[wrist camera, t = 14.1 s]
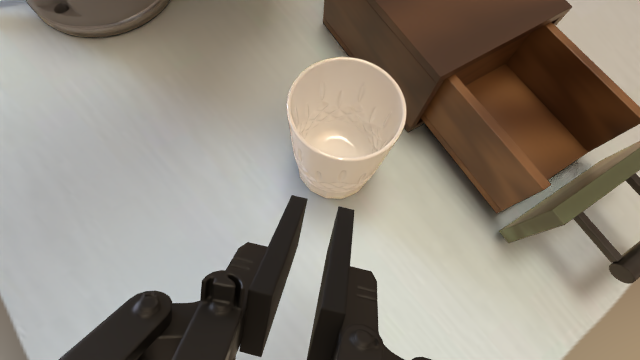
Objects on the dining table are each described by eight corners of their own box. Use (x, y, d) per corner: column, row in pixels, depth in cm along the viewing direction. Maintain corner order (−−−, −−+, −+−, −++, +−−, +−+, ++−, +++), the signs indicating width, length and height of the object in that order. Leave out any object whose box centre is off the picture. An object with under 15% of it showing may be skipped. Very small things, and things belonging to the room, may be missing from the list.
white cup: (340, 223, 30) (358, 185, 21) (273, 169, 32) (261, 110, 22) (393, 160, 33) (429, 100, 23) (327, 112, 34) (337, 37, 25)
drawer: (661, 225, 31) (755, 203, 24) (558, 307, 28) (634, 306, 22) (505, 59, 36) (548, 6, 30) (406, 113, 34) (430, 67, 27)
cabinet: (513, 72, 37) (572, 6, 29) (407, 132, 34) (440, 77, 26) (424, -23, 41) (453, -104, 33) (322, 22, 38) (328, -55, 30)
